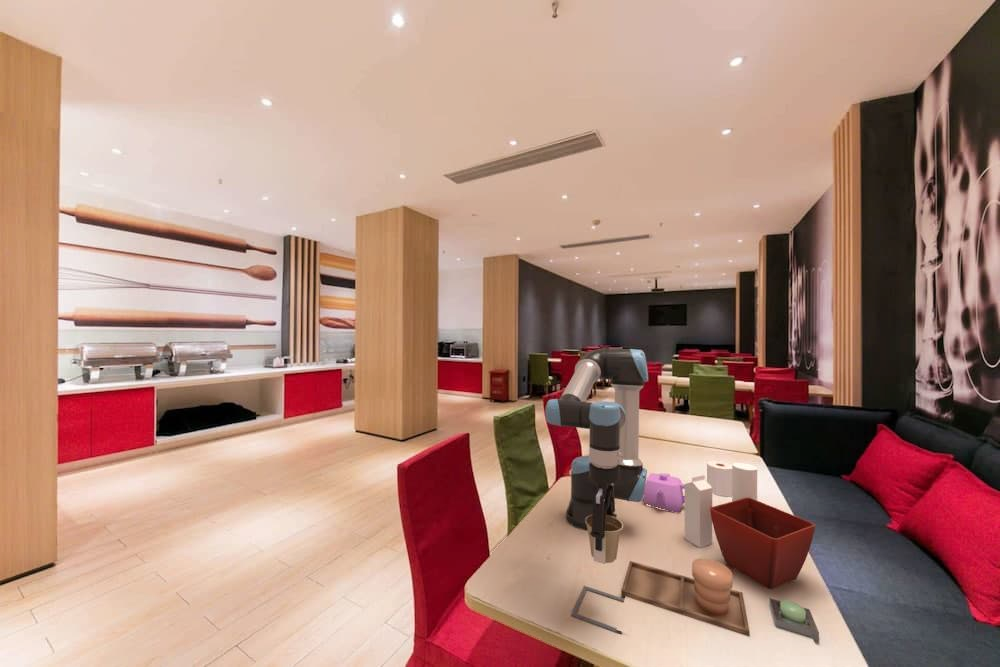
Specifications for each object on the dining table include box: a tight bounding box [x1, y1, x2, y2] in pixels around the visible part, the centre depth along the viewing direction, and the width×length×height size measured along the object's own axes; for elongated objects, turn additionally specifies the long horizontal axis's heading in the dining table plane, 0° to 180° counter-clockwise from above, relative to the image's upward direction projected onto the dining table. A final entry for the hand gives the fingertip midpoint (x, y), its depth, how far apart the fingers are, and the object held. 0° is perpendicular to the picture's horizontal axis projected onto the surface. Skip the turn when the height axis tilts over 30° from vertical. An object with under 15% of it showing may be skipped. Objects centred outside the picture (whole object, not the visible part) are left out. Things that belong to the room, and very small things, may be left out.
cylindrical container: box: [731, 462, 758, 502], centre depth 126 cm, size 7×7×25 cm
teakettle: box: [643, 472, 686, 513], centre depth 152 cm, size 17×17×12 cm
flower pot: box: [585, 515, 624, 564], centre depth 94 cm, size 9×9×9 cm
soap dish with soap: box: [769, 597, 820, 644], centre depth 89 cm, size 8×8×2 cm
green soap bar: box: [779, 599, 807, 625], centre depth 89 cm, size 5×5×3 cm
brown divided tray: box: [620, 560, 751, 637], centre depth 98 cm, size 28×15×2 cm, turn 62°
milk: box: [683, 474, 713, 548], centre depth 125 cm, size 6×6×22 cm
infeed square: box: [570, 585, 626, 635], centre depth 94 cm, size 12×12×1 cm
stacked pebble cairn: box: [691, 558, 734, 615], centre depth 94 cm, size 9×9×9 cm
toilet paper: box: [706, 460, 732, 497], centre depth 165 cm, size 10×10×12 cm
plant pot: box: [710, 498, 816, 590], centre depth 109 cm, size 19×19×17 cm
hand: (603, 551), depth 94 cm, fingers closed on flower pot, 8 cm apart
